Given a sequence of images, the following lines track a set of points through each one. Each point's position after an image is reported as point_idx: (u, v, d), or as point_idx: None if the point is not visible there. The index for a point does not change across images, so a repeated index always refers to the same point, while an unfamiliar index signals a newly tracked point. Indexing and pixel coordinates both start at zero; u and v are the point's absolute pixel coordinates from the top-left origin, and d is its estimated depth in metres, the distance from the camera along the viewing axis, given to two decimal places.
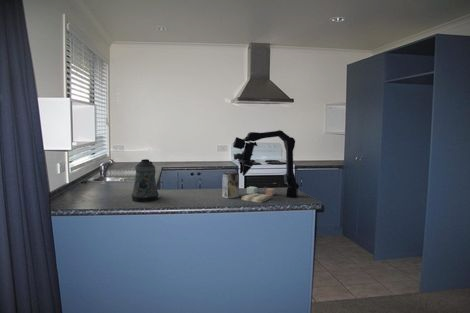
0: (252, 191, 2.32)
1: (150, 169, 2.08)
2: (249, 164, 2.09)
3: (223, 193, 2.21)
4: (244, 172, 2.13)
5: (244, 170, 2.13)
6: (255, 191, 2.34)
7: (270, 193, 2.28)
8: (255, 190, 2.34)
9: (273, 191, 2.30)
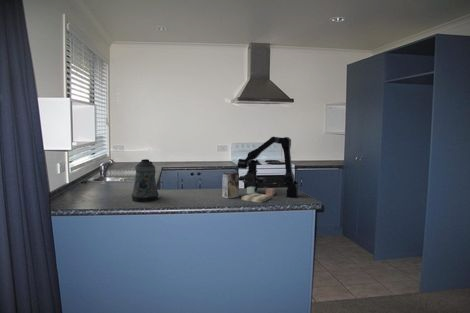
0: (252, 191, 2.32)
1: (150, 169, 2.08)
2: (264, 181, 2.31)
3: (223, 193, 2.21)
4: (256, 188, 2.33)
5: (257, 187, 2.33)
6: None
7: (270, 193, 2.28)
8: None
9: (273, 191, 2.30)
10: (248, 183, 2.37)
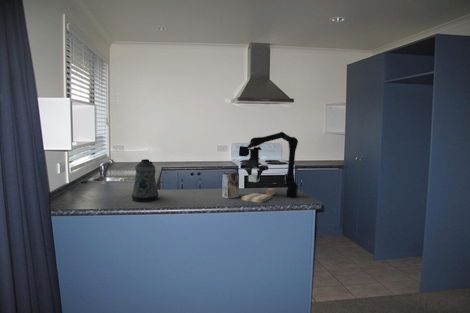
0: (254, 179, 2.23)
1: (150, 169, 2.08)
2: (267, 168, 2.21)
3: (223, 193, 2.21)
4: (259, 176, 2.24)
5: (259, 175, 2.23)
6: None
7: (270, 193, 2.28)
8: None
9: (273, 191, 2.30)
10: (250, 171, 2.28)
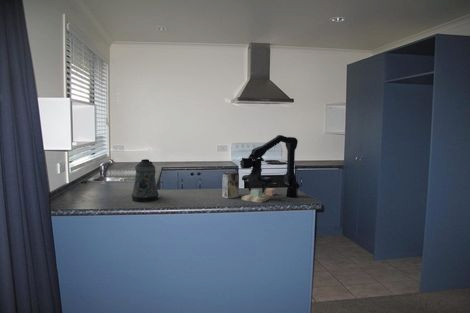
0: (257, 194, 2.14)
1: (150, 169, 2.08)
2: (270, 180, 2.12)
3: (223, 193, 2.21)
4: (264, 189, 2.14)
5: (264, 188, 2.13)
6: (260, 194, 2.15)
7: (270, 193, 2.28)
8: (260, 193, 2.15)
9: (273, 191, 2.30)
10: (250, 183, 2.19)
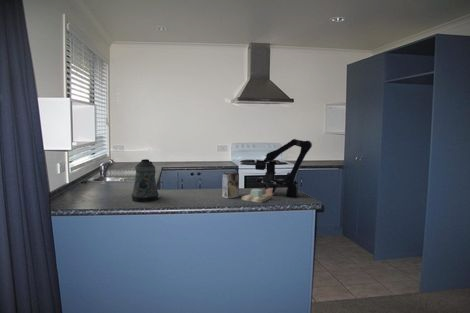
0: (257, 194, 2.14)
1: (150, 169, 2.08)
2: (283, 182, 2.26)
3: (223, 193, 2.21)
4: (274, 190, 2.29)
5: (274, 188, 2.28)
6: (260, 194, 2.15)
7: (270, 193, 2.28)
8: (260, 193, 2.15)
9: None
10: (267, 185, 2.32)
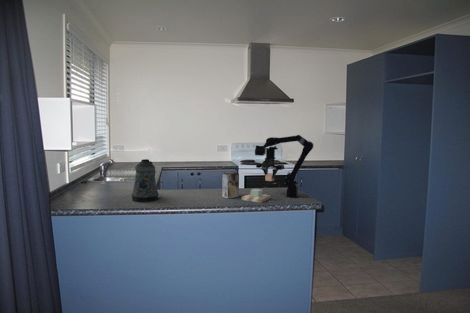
0: (257, 194, 2.14)
1: (150, 169, 2.08)
2: (283, 167, 2.24)
3: (223, 193, 2.21)
4: (274, 176, 2.27)
5: (274, 174, 2.26)
6: (260, 194, 2.15)
7: (269, 178, 2.26)
8: (260, 193, 2.15)
9: None
10: (266, 170, 2.30)
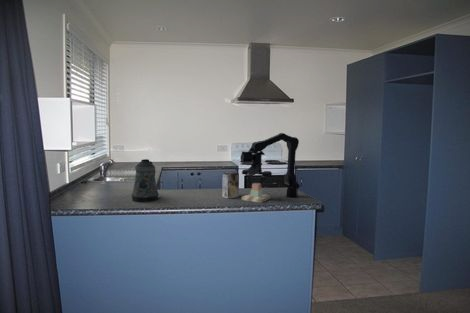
0: (256, 194, 2.14)
1: (150, 169, 2.08)
2: (270, 174, 2.12)
3: (223, 193, 2.21)
4: (262, 183, 2.14)
5: (263, 181, 2.13)
6: (260, 194, 2.15)
7: (256, 188, 2.14)
8: (260, 193, 2.15)
9: (260, 186, 2.16)
10: (251, 177, 2.18)
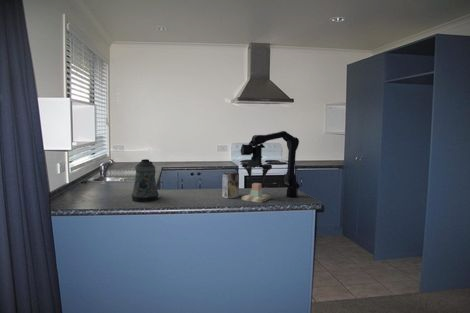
0: (256, 194, 2.14)
1: (150, 169, 2.08)
2: (270, 167, 2.11)
3: (223, 193, 2.21)
4: (264, 176, 2.13)
5: (264, 174, 2.12)
6: (260, 194, 2.15)
7: (256, 188, 2.14)
8: (260, 193, 2.15)
9: (260, 186, 2.16)
10: (250, 170, 2.18)
